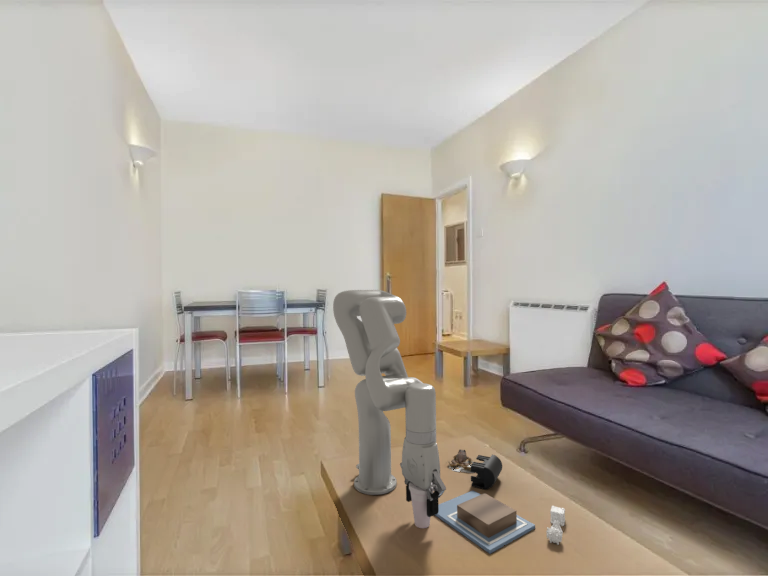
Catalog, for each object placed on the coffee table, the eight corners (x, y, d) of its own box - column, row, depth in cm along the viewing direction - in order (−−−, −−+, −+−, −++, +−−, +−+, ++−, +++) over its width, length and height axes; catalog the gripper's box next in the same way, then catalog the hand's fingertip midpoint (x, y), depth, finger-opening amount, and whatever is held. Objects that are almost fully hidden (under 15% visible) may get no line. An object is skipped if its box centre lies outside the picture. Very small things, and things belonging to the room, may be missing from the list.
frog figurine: (444, 457, 135) (444, 446, 136) (480, 460, 133) (480, 449, 133) (441, 472, 124) (441, 460, 124) (480, 475, 121) (480, 463, 121)
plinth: (457, 517, 97) (457, 505, 97) (484, 504, 103) (484, 493, 103) (488, 538, 89) (488, 524, 89) (516, 523, 94) (516, 510, 94)
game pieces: (551, 518, 98) (551, 505, 99) (565, 521, 97) (565, 508, 97) (545, 544, 88) (545, 530, 88) (561, 549, 86) (561, 534, 86)
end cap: (495, 493, 110) (494, 469, 110) (470, 487, 114) (470, 464, 114) (502, 478, 119) (502, 456, 119) (479, 473, 122) (479, 451, 122)
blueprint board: (429, 511, 101) (429, 507, 101) (473, 493, 110) (473, 489, 110) (489, 553, 85) (489, 549, 85) (535, 528, 94) (535, 524, 94)
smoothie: (434, 533, 92) (433, 473, 92) (407, 530, 94) (406, 471, 94) (436, 517, 99) (435, 461, 99) (410, 514, 100) (410, 460, 100)
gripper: (388, 428, 101) (389, 496, 101) (432, 450, 87) (433, 530, 87) (411, 422, 106) (412, 488, 105) (457, 442, 91) (458, 518, 91)
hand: (421, 506), depth 96 cm, fingers open, 7 cm apart
